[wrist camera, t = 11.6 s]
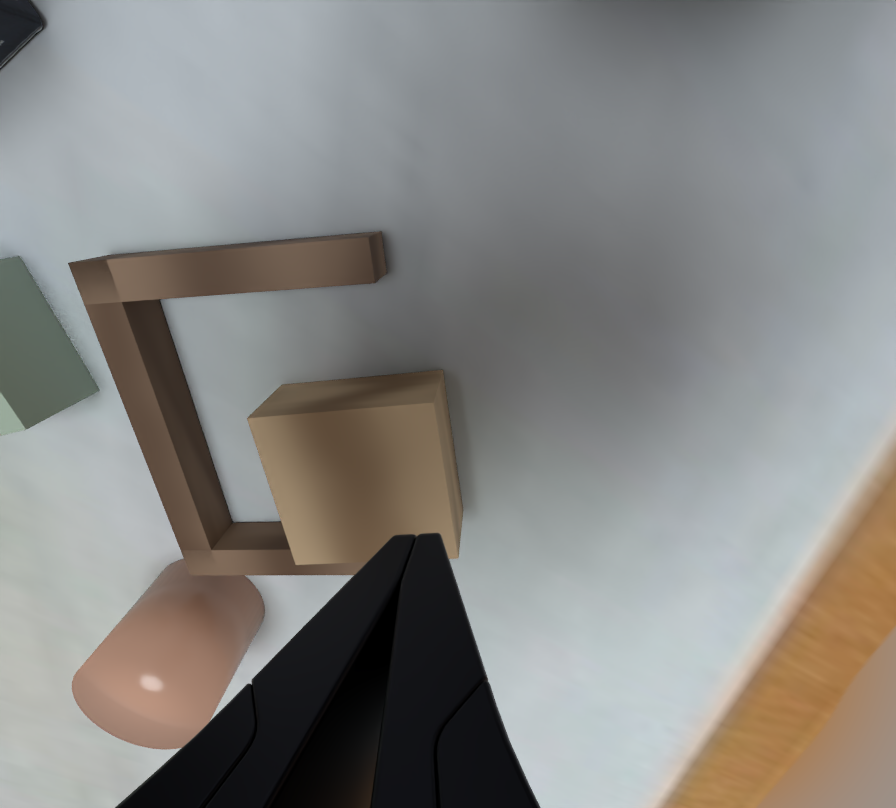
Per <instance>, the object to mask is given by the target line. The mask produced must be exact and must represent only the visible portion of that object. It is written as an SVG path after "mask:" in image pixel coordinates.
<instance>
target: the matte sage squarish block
mask: <svg viewBox="0 0 896 808" xmlns="http://www.w3.org/2000/svg"><path fill="white" fill-rule="evenodd" d="M97 391H99V388H98V386H97V385H96V383H95V381H94V380H93V378H92V376H91V375H90V373H89V371H88V370H87V368H86V366H85V365H84V363H83V361H82V360H81V358H80V356H79V354H78V353H77V351H76V349H75V348H74V346H73V344H72V343H71V341H70V339H69V338H68V336H67V334H66V333H65V331H64V329H63V328H62V326H61V324H60V323H59V321H58V319H57V318H56V316H55V314H54V313H53V311H52V309H51V308H50V306H49V304H48V303H47V301H46V299H45V298H44V296H43V294H42V293H41V291H40V289H39V288H38V286H37V284H36V283H35V281H34V279H33V278H32V276H31V274H30V273H29V271H28V269H27V268H26V266H25V264H24V263H23V261H22V259H21V258H20V256H18V257H12V258H5V259H0V436H2V435H6V434H10V433H14V432H18V431H22V430H26V429H28V428H30V427H32V426H34V425H35V424H37V423H39V422H41V421H43V420H45V419H47V418H49V417H50V416H52V415H54V414H56V413H58V412H60V411H62V410H64V409H66V408H67V407H69V406H71V405H73V404H75V403H77V402H79V401H81V400H82V399H84V398H86V397H88V396H90V395H92V394H94V393H96V392H97Z"/></svg>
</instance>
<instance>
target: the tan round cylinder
mask: <svg viewBox="0 0 896 808" xmlns="http://www.w3.org/2000/svg"><path fill="white" fill-rule="evenodd" d="M264 614H265V608H264V603H263V599H262V597H261V595H260V593H259V591H258V590H257V588H256V587H255V586H254V584H253V583H252V582H251V581H250V580H249V579H248V578H247V577H245V576H244V575H190V572H189V570H188V567H187V565H186V562H185V560H184V559H182V560H178V561H176V562H174V563H172V564H170V565H169V566H167V567H166V568H165V569H164V570H163V571H162V573H161V574H160V575H159V576H158V577H157V578H156V580H155V581H154V582H153V583H152V584H151V585H150V587H149V588H148V589H147V590H146V591H145V593H144V594H143V595H142V596H141V597H140V598H139V600H138V601H137V602H136V603H135V604H134V605H133V607H132V608H131V609H130V610H129V611H128V612H127V614H126V615H125V616H124V617H123V618H122V619H121V621H120V622H119V623H118V624H117V625H116V626H115V628H114V629H113V630H112V631H111V632H110V633H109V635H108V636H107V637H106V638H105V639H104V641H103V642H102V643H101V644H100V645H99V646H98V648H97V649H96V650H95V651H94V652H93V653H92V655H91V656H90V657H89V658H88V659H87V660H86V662H85V663H84V664H83V665H82V666H81V667H80V669H79V670H78V671H77V672H76V674H75V676H74V678H73V681H72V692H73V695H74V698H75V700H76V702H77V704H78V706H79V707H80V709H81V710H82V711H83V713H84V714H85V715H86V716H87V717H88V718H89V719H90V720H91V721H92V722H93V723H95V724H96V725H97V726H98V727H100V728H101V729H103V730H104V731H106V732H108V733H109V734H111V735H113V736H115V737H117V738H119V739H121V740H124V741H126V742H129V743H132V744H135V745H138V746H142V747H147V748H153V749H177V748H182V747H183V746H185V745H186V744H187V743H188V742H189V741H190V740H191V739H192V738H193V737H194V736H195V735H196V734H198V733H199V732H200V731H201V730H202V729H203V728H204V727H205V726H206V725H207V724H208V723H209V721H210V719H211V718H212V716H213V714H214V712H215V710H216V708H217V706H218V704H219V702H220V701H221V699H222V697H223V695H224V693H225V691H226V689H227V687H228V686H229V684H230V682H231V680H232V678H233V676H234V674H235V672H236V670H237V669H238V667H239V665H240V663H241V661H242V659H243V657H244V655H245V654H246V652H247V650H248V648H249V646H250V644H251V642H252V640H253V638H254V637H255V635H256V633H257V631H258V629H259V627H260V625H261V623H262V622H263V619H264Z"/></svg>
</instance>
